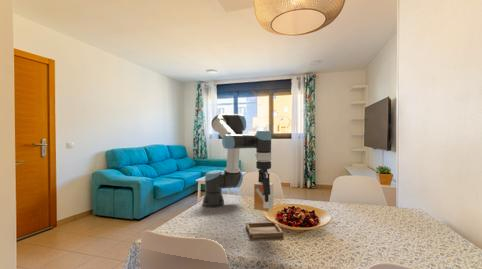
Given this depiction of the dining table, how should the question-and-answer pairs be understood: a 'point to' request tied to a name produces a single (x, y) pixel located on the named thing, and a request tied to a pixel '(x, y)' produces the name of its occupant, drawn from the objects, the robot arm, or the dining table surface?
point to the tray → (264, 230)
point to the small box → (259, 197)
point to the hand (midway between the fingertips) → (263, 204)
